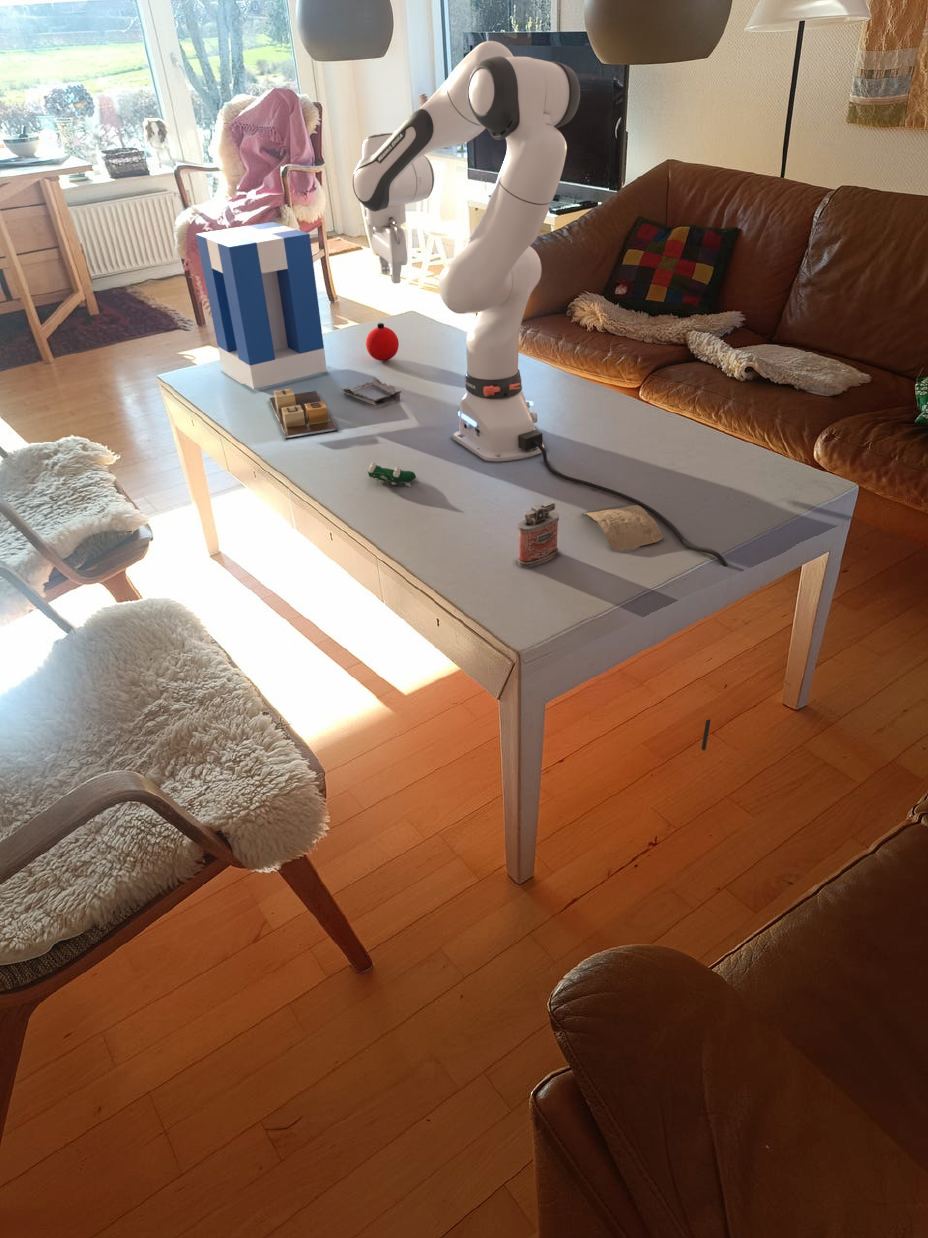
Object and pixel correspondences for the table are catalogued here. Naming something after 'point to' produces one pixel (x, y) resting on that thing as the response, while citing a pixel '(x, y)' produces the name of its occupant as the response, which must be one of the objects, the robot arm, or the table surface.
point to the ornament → (382, 343)
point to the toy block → (263, 302)
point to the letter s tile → (316, 412)
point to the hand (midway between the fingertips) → (390, 277)
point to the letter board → (306, 427)
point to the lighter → (538, 535)
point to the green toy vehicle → (390, 474)
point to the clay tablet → (627, 527)
